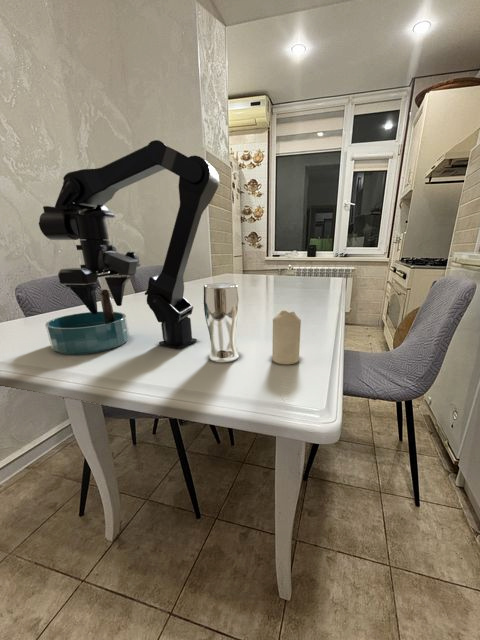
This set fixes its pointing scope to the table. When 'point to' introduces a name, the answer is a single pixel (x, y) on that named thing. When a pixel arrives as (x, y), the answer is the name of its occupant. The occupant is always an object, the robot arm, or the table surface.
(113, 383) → the table surface
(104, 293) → the brown rod
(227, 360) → the beer glass
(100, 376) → the table surface
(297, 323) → the candle
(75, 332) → the bowl
